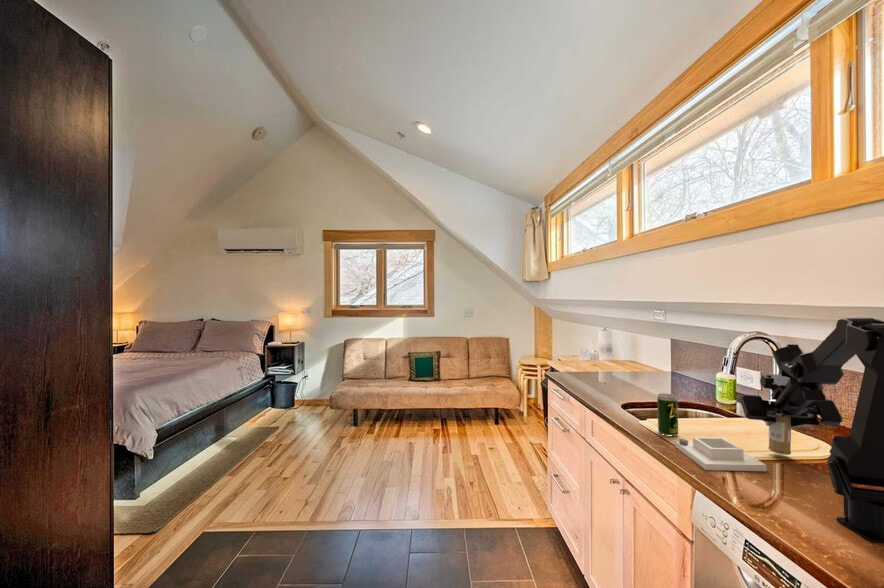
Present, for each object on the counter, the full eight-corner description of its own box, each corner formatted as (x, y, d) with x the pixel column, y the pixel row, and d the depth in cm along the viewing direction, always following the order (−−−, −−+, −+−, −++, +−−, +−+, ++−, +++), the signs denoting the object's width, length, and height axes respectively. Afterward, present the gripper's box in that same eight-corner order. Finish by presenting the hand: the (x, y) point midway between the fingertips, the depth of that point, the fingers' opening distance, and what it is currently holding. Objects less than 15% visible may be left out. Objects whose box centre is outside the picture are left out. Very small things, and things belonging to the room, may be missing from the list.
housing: (766, 471, 90) (766, 454, 90) (705, 470, 91) (705, 453, 91) (727, 447, 104) (727, 433, 104) (675, 446, 105) (675, 432, 105)
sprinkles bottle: (796, 455, 96) (797, 403, 96) (779, 455, 96) (780, 403, 95) (779, 448, 100) (780, 398, 100) (763, 448, 100) (764, 398, 100)
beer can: (654, 432, 116) (653, 394, 116) (664, 429, 119) (663, 392, 119) (671, 438, 111) (670, 398, 111) (682, 435, 114) (681, 396, 114)
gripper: (833, 367, 91) (808, 400, 101) (741, 364, 98) (726, 396, 108) (857, 408, 84) (827, 440, 94) (755, 402, 90) (738, 432, 100)
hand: (777, 425), depth 99 cm, fingers closed on sprinkles bottle, 4 cm apart
